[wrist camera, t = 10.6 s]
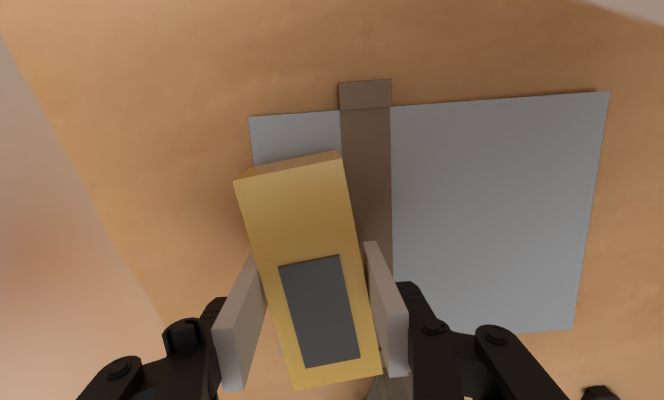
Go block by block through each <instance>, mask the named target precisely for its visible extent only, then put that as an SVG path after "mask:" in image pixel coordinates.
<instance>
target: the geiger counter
mask: <svg viewBox="0 0 664 400" xmlns="http://www.w3.org/2000/svg"><path fill="white" fill-rule="evenodd" d="M382 370H383V374H381V375H376V377H375V379H374V382H373V384H372V386H371V389H370V391H369V393H368V396H367V398H366V400H413V374H411V373H409V376H404V377H392V378H389V376H388V372H387V368H386V367H382Z"/></svg>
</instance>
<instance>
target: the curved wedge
mask: <svg viewBox="0 0 664 400" xmlns="http://www.w3.org/2000/svg"><path fill="white" fill-rule="evenodd" d="M581 400H620V398H619V397H618V396H616V395H615V394H613V393H612V392H611V391H609V390H608V389H607V388H606V387H605V386H593V387H588V388H587V390H586V392H585V394H584V396H583V397H582V399H581Z"/></svg>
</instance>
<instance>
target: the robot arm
mask: <svg viewBox="0 0 664 400" xmlns="http://www.w3.org/2000/svg"><path fill="white" fill-rule="evenodd" d="M363 264H364V276H365V281H366V286H367V292H368V297H369V302H370V308H371V312H372V315H373V319H374V323H375V327H376V331H377V334H378V338H379V342H380V346H381V349H382V353H383V357H384V361H385V364H386V368H387V372H388V376H389V378H392V377H404V376H409V366H410V369H411V371H412V374H413V400H464V396H465V397H470V398H472V399H473V400H570V399H569V398H568V397H567V396H566V395H565V393H564V392H563V391H562V390H561V389H560V388H559V386H558V385H557V384H556V383H555V382H554V380H553V379H552V378H551V377H550V376H549V375H548V373H547V372H546V371H545V370H544V369H543V367H542V366H541V365H540V364H539V363H538V361H537V360H536V359H535V358H534V357H533V356H532V354H531V353H530V352H529V351H528V350H527V348H526V347H525V346H524V345H523V344H522V343H521V341H520V340H519V339H518V338H517V337H516V336H515V335H514V334H513V333H512V332H511V331H509V330H507V329H505V328H504V327H501V326H497V325H490V324H486V325H481V326H479V327H478V328H476V331H475V335H471V334H464V333H459V332H455V331H452V330H451V329H450V327H449V325H448V324H446V323H445V322H444V321H442V320H440V319H438V318H436V316H435V314H434V312H433V311H432V309H431V307H430V306H429V304H428V302H427V300H426V299H425V297H424V295H423V294H422V292H421V290H420V288H419V287H418V286H417V285H416V284H414V283H413V282H411V281H402V282H394V279H393V277H392V275H391V273H390V271H389V268H388V266H387V264H386V262H385V260H384V257H383V255H382V253H381V251H380V249H379V246H378V244H377V242H376V241H366V242H363ZM267 306H268V302H267V299H266V295H265V292H264V289H263V285H262V282H261V278H260V275H259V272H258V268H257V265H256V261H255V258H254V255H253V251H251V253H250V255H249V256H248V258H247V260H246V262H245V264H244V266H243V268H242V270H241V272H240V274H239V276H238V278H237V280H236V282H235V284H234V286H233V288H232V289H231V291H230V293H229V295H228V297H217V298H215V299H214V300H212V301H211V302H210V303H209V304H208V305H207V306H206V308H205V310H204V311H203V314H201V316H200V318H193V317H192V318H185V319H182V320H179V321H177V322H175V323H173V324H171V325H170V326H169V327H167V328H166V329H165V330H164V332H163V334H162V337H163V341H164V345H165V349H166V353H167V356H166V358H163V359H161V360H158V361H155V362H151V363H148V364H144V365H142V362H141V359H140V358H139V357H137V356H126V357H122V358H119V359H117V360H115V361H113V362H111V363H109V364H108V365H106V366H105V367H104V368H103V369H102V370H100V371H99V372H98V373H97V375H96V376H95V377H94V378H93V380H92V381H91V382H90V383H89V384H88V385H87V387H86V388H85V389H84V390H83V392H82V393H81V394H80V395H79V396H78V398H77V399H76V400H219V399H218V394H217V390H218V387H219V384H220V382H221V383H222V388H223V392H233V391H244V388H245V385H246V381H247V378H248V374H249V370H250V367H251V363H252V360H253V356H254V352H255V349H256V345H257V342H258V338H259V335H260V331H261V327H262V324H263V320H264V317H265V313H266V309H267Z"/></svg>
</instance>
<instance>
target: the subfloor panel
mask: <svg viewBox="0 0 664 400" xmlns="http://www.w3.org/2000/svg"><path fill="white" fill-rule="evenodd" d="M337 90H338V106H339V110H336V111H323V112H309V113H295V114H281V115H267V116H253V117H248V124H249V131H250V138H251V145H252V153H253V160H254V166H258V165H263V164H268V163H273V162H278V161H283V160H288V159H292V158H297V157H302V156H307V155H312V154H317V153H321V152H326V151H331V150H336V149H337V150H338V152H339V154H340V156H341V157H342V161H343V167H344V172H345V177H346V182H347V187H348V193H349V198H350V203H351V208H352V213H353V219H354V224H355V229H356V234H357V239H358V245H359V250H360V255H361V260H362V265H363V271H364V264H363V242H366V241H376V242H377V244H378V246H379V249H380V251H381V253H382V255H383V257H384V260H385V262H386V264H387V266H388V268H389V271H390V273H391V275H392V277H393V279H394V282H402V281H411V282H413V283H414V284H416V285H417V286H418V287H419V288H420V290H421V292H422V294H423V295H424V297H425V299H426V300H427V302H428V304H429V306H430V307H431V309H432V311H433V312H434V314H435V316H436V318H438V319H440V320H442V321H444V322H445V323H446V324H448V325H449V327H450V329H451V330H452V331H455V332H459V333H464V334H471V335H475V331H476V328H478V327H479V326H481V325H486V324H490V325H497V326H501V327H504V328H505V329H507V330H509V331H511V332H512V333H513V334H522V333H534V332H545V331H557V330H569V329H572V328H573V322H574V316H575V309H576V303H577V297H578V291H579V284H580V278H581V272H582V266H583V259H584V253H585V247H586V241H587V234H588V228H589V222H590V216H591V209H592V203H593V197H594V191H595V185H596V178H597V172H598V166H599V160H600V153H601V147H602V141H603V135H604V128H605V122H606V116H607V110H608V103H609V97H610V91H600V92H586V93H572V94H558V95H544V96H530V97H517V98H503V99H489V100H475V101H461V102H447V103H433V104H420V105H406V106H392V107H391V79H383V80H369V81H355V82H341V83H338V85H337ZM372 318H373V315H372ZM373 323H374V319H373ZM374 328H375V333H376V338H377V344H378V349H379V354H380V359H381V364H382V367H386V364H385V361H384V357H383V353H382V349H381V346H380V342H379V338H378V334H377V331H376V327H375V323H374ZM278 342H279V340H278ZM279 349H280V354H283V353H282V350H281V346H280V343H279Z"/></svg>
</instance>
